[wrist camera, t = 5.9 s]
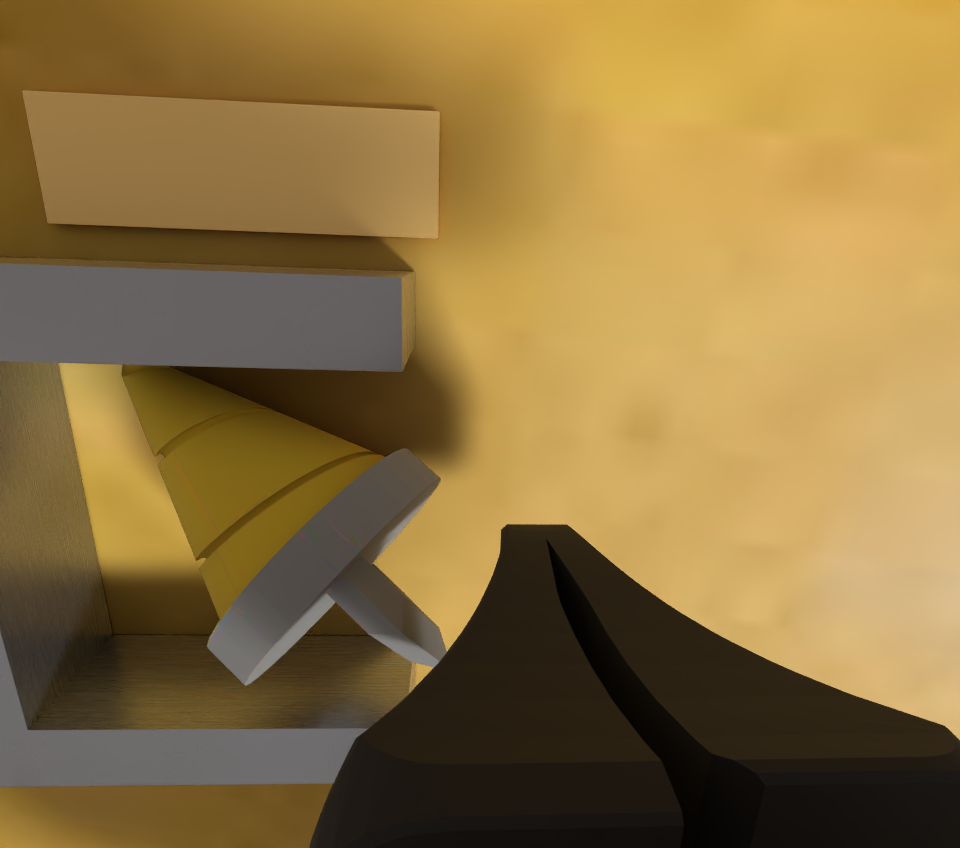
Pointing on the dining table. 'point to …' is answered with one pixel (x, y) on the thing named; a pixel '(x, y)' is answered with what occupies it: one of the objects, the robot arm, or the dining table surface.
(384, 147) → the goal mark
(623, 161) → the dining table surface
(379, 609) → the grooved yellow cone
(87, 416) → the dining table surface
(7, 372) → the bracket
